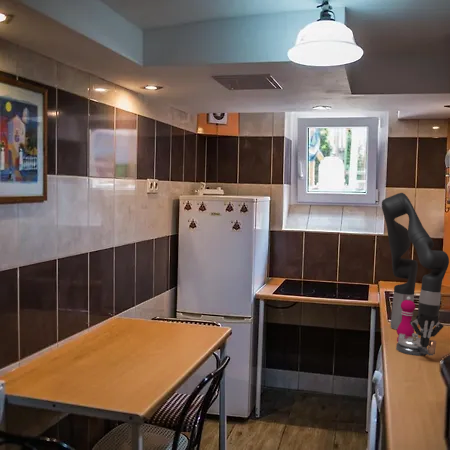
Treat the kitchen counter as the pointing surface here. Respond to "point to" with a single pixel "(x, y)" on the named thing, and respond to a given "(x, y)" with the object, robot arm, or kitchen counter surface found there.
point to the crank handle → (416, 343)
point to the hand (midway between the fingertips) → (424, 346)
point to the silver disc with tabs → (410, 351)
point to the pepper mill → (406, 318)
